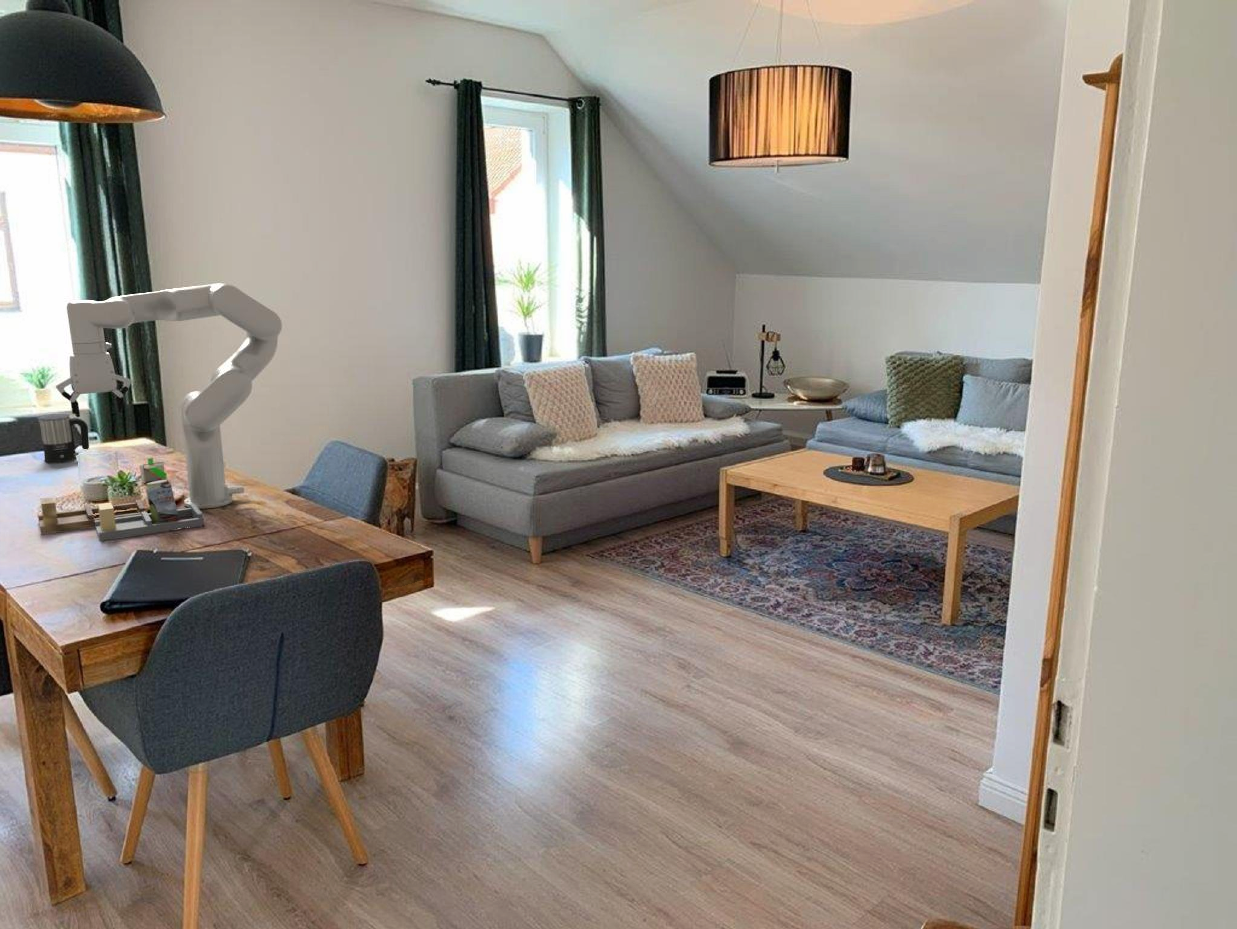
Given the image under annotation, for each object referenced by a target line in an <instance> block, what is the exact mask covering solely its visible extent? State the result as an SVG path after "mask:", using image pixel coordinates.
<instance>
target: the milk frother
mask: <svg viewBox="0 0 1237 929" xmlns="http://www.w3.org/2000/svg"><path fill="white" fill-rule="evenodd" d="M70 417H71V415H70V414H68V413H54V414H52V413H51V414H46V415H45V414H44V415H42V416H39V417H37V420H38V422H39V426H40V434H41V440H42V447H43V454H44V460H43V461H44V463H50V464H54V463H55V464H57V463H67V462H71V461H74V460H76V459H77V456H76V450H77V449H78V447H79V442H75V438H74V432H73V427H72V426H73V425H77V426H79V427H80V428H79V429H80V438H81V439H80V440H81V441H80V442H81V448H82V450H84V449H87V450H89V449H90V439H89V437H90V436H89V427H88V424H87V422H86V421H85V420H83V419H82V418H80V417H71V418H70Z"/></svg>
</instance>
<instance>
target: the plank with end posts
mask: <svg viewBox="0 0 1237 929" xmlns="http://www.w3.org/2000/svg"><path fill="white" fill-rule="evenodd" d="M134 500H135V502H128V503H120V504H114V505H113V504H112V506H113V508H114V511H115V510H127V509H130V508H137V511H138V513H137V511H136V512H134V513H133V512H130V513H125V514H117V515H114V516H115V518H118V517H126V516H133V515H140V514H141V512H144V511H146V507H145V505H144V504H143V503H142V500H141V499H140V498H139V499H134ZM40 506H41V512H42V513H41V514H37V518H38V523H39V530H40V535H46V534H47V535H48V534H55V533H62V532H71V531H76V530H83V529H90V528H91V529H92V528H95V521H96V520H100V519H99V517H96V518H94V517H95V516H94V515H93V514H95V513H99V511H98V506H95V507H91V505H85V506H84V508H83V509H82V508H80V509H73V510H66V511H59V512H57V506H56V500H55V497H54V496H53V497H43V498H40Z"/></svg>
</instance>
